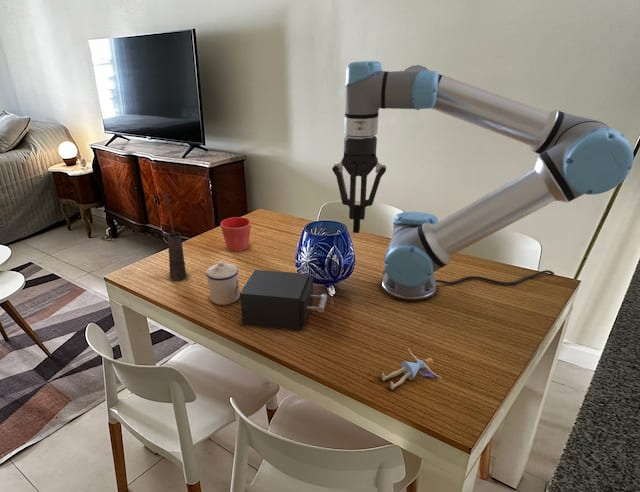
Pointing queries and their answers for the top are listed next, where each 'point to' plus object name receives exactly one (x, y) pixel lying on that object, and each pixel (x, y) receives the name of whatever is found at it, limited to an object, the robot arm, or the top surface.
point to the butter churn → (175, 252)
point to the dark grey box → (273, 299)
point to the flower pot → (236, 233)
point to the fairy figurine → (410, 370)
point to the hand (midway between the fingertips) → (356, 230)
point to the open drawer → (310, 302)
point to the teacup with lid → (223, 283)
